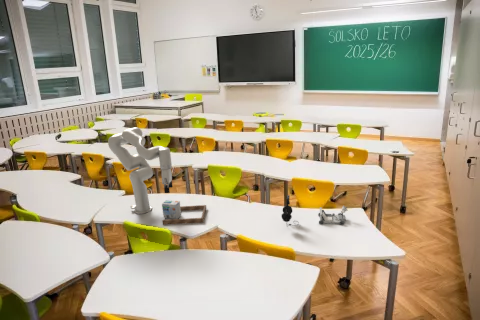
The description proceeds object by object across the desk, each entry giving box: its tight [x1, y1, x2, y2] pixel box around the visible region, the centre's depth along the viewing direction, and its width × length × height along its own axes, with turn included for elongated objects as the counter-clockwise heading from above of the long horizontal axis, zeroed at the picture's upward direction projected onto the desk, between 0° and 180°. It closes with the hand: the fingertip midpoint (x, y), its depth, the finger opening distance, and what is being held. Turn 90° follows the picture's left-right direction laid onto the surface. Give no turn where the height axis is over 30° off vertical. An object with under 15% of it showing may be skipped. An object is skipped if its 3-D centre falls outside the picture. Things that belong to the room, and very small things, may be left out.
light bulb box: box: [161, 199, 182, 219], centre depth 233 cm, size 11×7×11 cm, turn 74°
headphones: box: [281, 194, 301, 228], centre depth 209 cm, size 15×11×20 cm
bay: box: [161, 204, 207, 225], centre depth 233 cm, size 28×21×3 cm
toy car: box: [317, 205, 348, 226], centre depth 214 cm, size 18×10×12 cm
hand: (168, 190), depth 228 cm, fingers open, 9 cm apart
